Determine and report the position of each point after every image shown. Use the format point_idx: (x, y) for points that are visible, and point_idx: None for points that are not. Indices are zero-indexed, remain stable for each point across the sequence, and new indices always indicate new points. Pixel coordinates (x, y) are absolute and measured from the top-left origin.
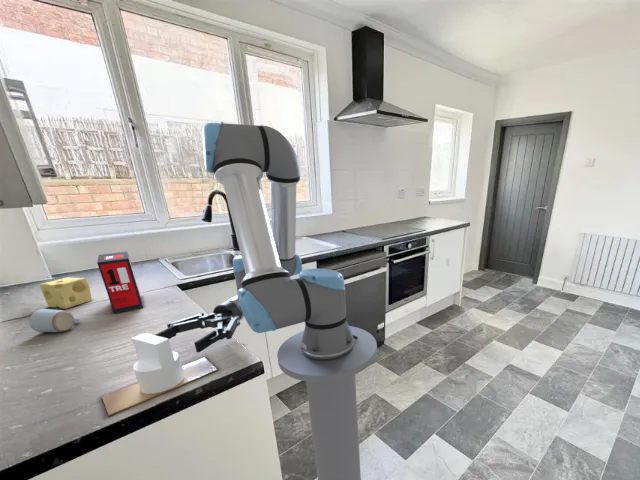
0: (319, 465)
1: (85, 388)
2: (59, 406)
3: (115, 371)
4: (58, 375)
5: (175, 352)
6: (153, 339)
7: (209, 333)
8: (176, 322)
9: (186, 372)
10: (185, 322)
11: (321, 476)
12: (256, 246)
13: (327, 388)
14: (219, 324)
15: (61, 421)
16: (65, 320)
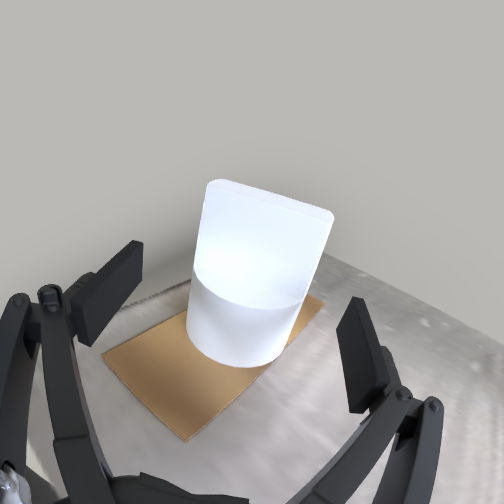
0: (32, 473)
1: (384, 326)
2: (363, 296)
3: (401, 370)
4: (463, 351)
5: (226, 298)
6: (253, 192)
7: (99, 284)
8: (420, 427)
9: (196, 357)
10: (372, 439)
11: (40, 478)
12: None
13: None
14: (63, 386)
15: (320, 273)
16: None
